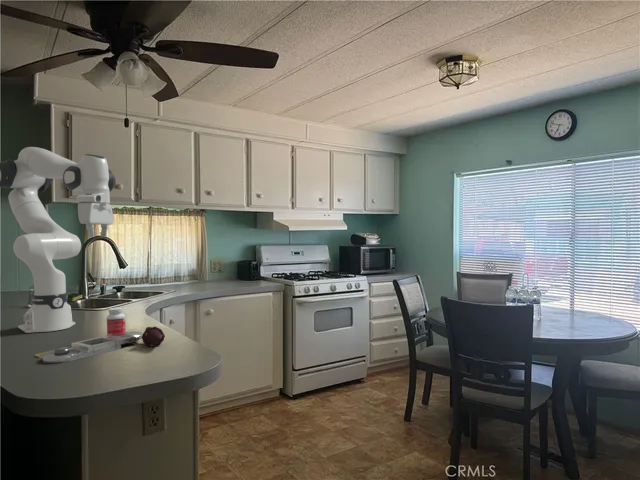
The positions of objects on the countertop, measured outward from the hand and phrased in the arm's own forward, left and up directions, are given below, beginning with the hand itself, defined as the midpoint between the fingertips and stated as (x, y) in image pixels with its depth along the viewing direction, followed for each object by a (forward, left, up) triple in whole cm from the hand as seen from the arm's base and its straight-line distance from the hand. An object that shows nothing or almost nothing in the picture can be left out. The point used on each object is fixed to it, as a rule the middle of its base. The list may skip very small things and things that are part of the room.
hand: (97, 236), depth 164 cm
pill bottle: (+5, +3, -37) cm, 38 cm away
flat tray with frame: (+15, -10, -37) cm, 41 cm away
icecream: (+27, +3, -38) cm, 46 cm away
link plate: (+6, -20, -38) cm, 43 cm away
